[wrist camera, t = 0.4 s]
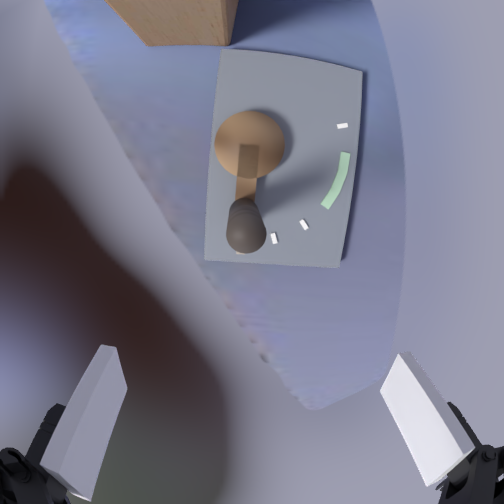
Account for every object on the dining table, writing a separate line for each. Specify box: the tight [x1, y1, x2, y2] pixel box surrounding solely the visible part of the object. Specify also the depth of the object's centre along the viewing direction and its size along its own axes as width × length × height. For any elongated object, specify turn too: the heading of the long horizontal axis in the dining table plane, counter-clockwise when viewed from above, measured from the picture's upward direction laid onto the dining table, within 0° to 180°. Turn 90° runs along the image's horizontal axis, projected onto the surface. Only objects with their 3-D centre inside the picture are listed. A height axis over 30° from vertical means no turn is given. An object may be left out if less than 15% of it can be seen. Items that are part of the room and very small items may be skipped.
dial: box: [214, 111, 285, 255], centre depth 24 cm, size 15×7×9 cm, turn 175°
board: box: [204, 49, 362, 268], centre depth 28 cm, size 24×16×2 cm, turn 175°
